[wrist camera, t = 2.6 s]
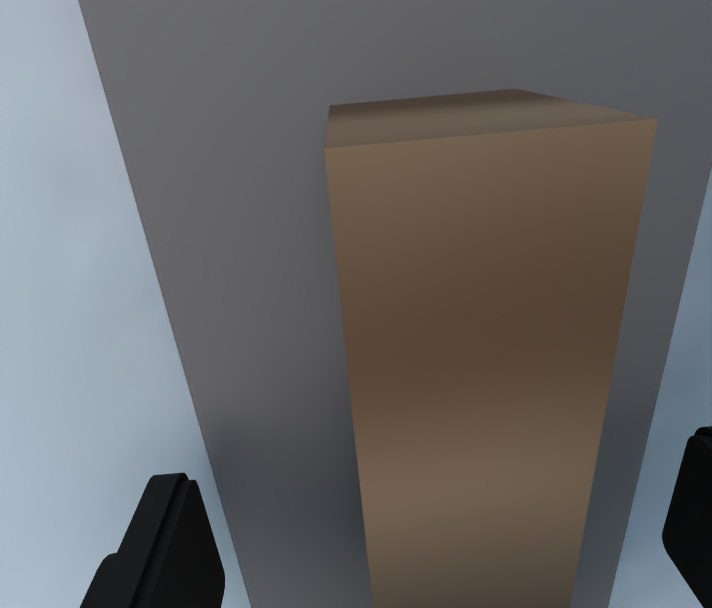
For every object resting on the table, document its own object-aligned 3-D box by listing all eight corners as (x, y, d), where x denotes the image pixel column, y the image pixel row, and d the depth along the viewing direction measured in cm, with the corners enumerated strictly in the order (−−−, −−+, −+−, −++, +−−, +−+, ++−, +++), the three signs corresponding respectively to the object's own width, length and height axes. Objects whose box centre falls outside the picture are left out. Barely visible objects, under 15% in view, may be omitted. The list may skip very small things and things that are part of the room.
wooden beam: (237, 114, 8) (158, 163, 5) (609, 80, 8) (826, 103, 4) (342, 704, 16) (343, 888, 13) (527, 689, 16) (581, 870, 13)
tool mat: (68, -97, 7) (46, -109, 7) (758, -162, 7) (792, -180, 7) (294, 733, 18) (293, 754, 18) (571, 710, 18) (578, 731, 18)
